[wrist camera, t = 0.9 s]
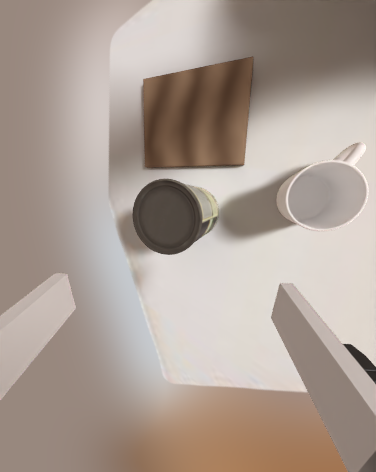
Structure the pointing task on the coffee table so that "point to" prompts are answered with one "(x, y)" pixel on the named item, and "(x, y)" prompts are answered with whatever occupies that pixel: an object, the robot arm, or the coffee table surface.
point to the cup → (325, 192)
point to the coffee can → (173, 215)
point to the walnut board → (198, 116)
